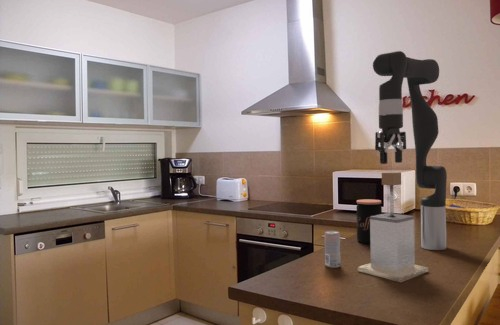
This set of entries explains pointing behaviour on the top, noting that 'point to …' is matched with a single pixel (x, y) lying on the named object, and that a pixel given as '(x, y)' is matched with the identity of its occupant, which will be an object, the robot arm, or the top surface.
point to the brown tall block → (391, 186)
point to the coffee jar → (366, 217)
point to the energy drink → (332, 249)
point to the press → (392, 248)
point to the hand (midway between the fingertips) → (391, 163)
